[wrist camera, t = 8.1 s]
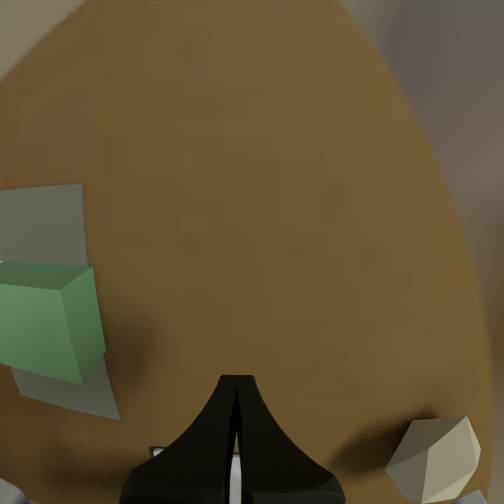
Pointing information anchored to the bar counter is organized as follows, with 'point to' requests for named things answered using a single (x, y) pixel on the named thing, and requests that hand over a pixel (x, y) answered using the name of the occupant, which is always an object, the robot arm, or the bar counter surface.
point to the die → (435, 459)
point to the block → (50, 320)
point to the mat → (53, 252)
